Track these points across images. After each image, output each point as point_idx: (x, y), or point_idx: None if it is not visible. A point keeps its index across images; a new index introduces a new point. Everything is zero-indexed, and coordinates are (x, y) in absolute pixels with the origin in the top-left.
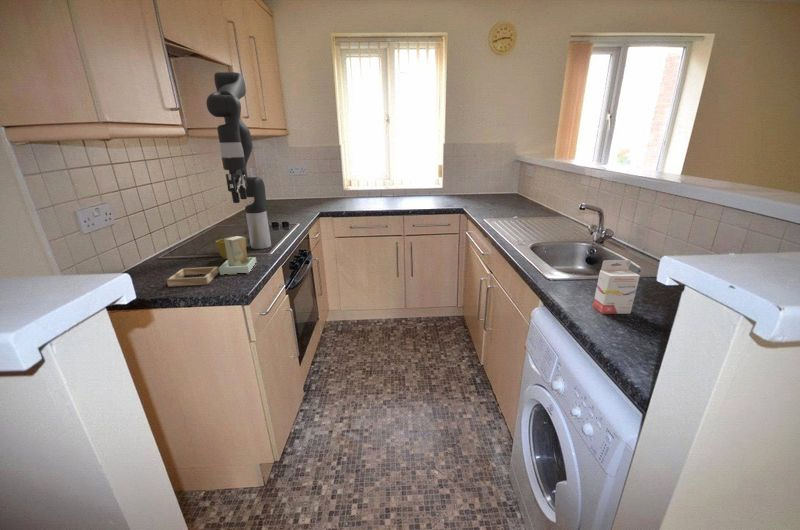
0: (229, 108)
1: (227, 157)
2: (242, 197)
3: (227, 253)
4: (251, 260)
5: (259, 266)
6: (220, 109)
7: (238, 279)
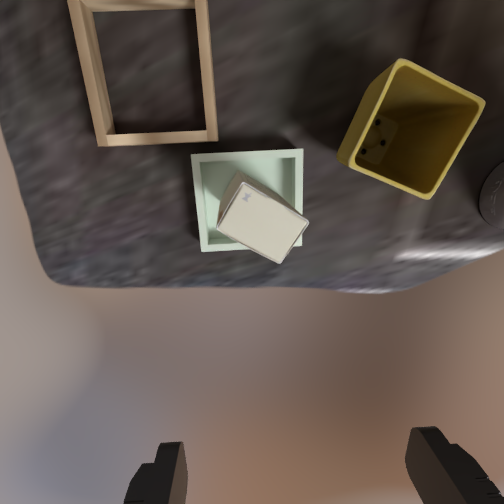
0: None
1: None
2: (421, 460)
3: (236, 180)
4: None
5: None
6: None
7: (151, 230)
